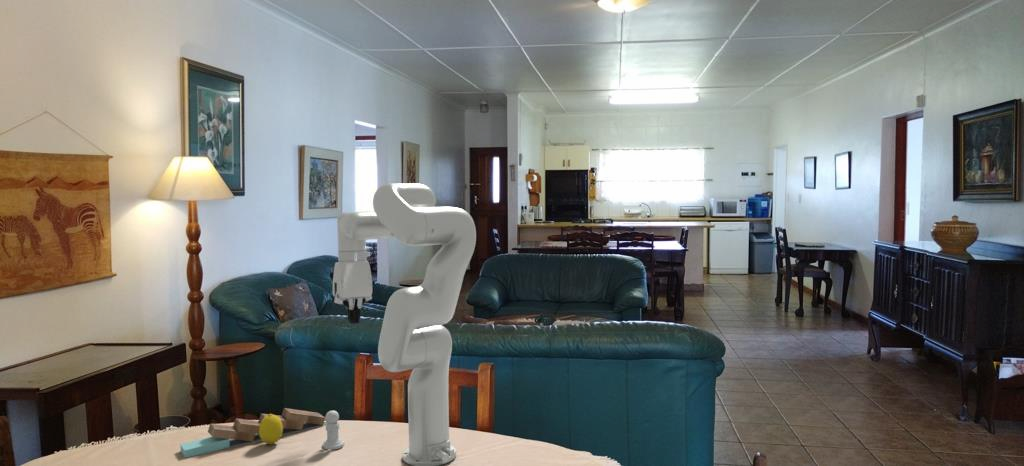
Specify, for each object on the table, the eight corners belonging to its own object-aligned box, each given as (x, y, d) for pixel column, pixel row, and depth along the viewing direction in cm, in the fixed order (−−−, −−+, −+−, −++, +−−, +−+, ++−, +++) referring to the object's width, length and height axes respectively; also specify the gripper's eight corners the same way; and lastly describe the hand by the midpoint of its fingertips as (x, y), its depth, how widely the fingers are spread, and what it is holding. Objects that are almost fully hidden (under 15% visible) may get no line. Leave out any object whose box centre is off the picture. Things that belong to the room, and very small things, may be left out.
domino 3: (303, 422, 170) (267, 418, 164) (301, 430, 170) (264, 426, 164) (297, 417, 174) (261, 413, 168) (295, 424, 174) (258, 421, 168)
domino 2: (279, 428, 166) (241, 423, 160) (277, 435, 166) (238, 431, 160) (273, 422, 170) (235, 418, 164) (270, 430, 170) (233, 426, 164)
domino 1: (255, 433, 163) (215, 428, 157) (253, 441, 162) (212, 437, 156) (249, 428, 166) (210, 423, 160) (247, 435, 166) (207, 431, 160)
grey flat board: (333, 424, 175) (333, 423, 175) (223, 450, 157) (223, 449, 157) (324, 418, 180) (324, 417, 180) (217, 443, 162) (216, 442, 162)
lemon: (275, 450, 157) (274, 418, 157) (254, 448, 158) (253, 416, 158) (287, 441, 163) (286, 410, 162) (267, 440, 164) (266, 409, 163)
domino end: (229, 438, 159) (184, 450, 152) (229, 446, 159) (185, 458, 153) (223, 433, 163) (180, 444, 156) (224, 440, 163) (180, 452, 157)
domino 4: (325, 417, 174) (290, 412, 168) (323, 424, 174) (287, 420, 168) (318, 412, 178) (283, 408, 172) (316, 420, 177) (281, 415, 172)
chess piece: (320, 451, 156) (319, 414, 156) (324, 442, 162) (323, 407, 161) (342, 450, 157) (341, 413, 156) (346, 441, 162) (345, 406, 162)
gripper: (371, 254, 184) (372, 317, 185) (320, 257, 175) (322, 324, 176) (383, 256, 178) (384, 321, 179) (331, 259, 169) (333, 328, 170)
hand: (354, 322), depth 178 cm, fingers closed
